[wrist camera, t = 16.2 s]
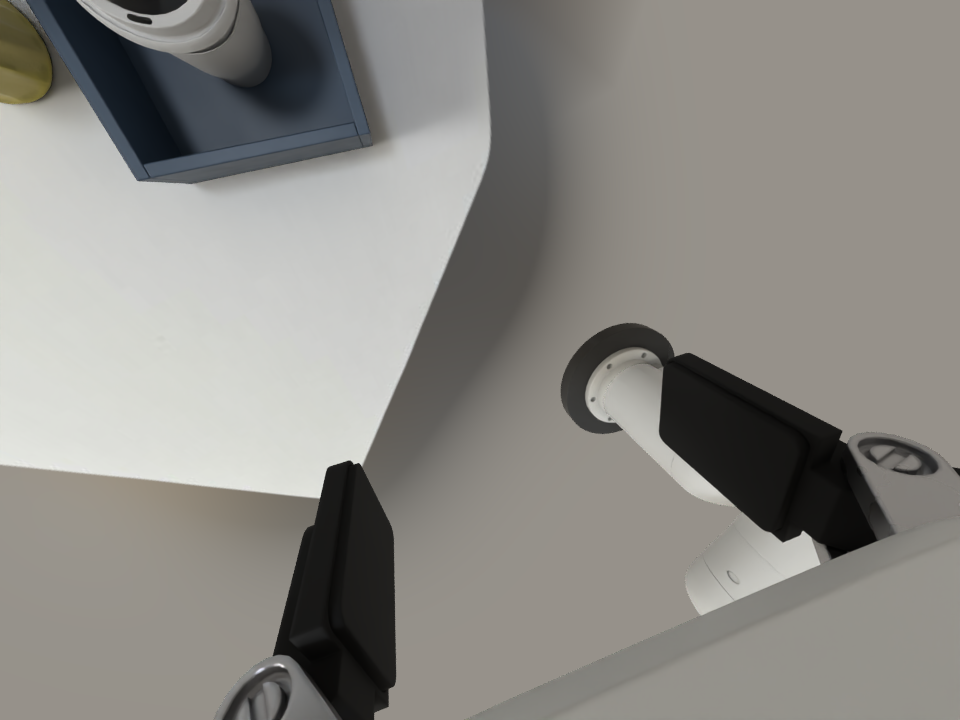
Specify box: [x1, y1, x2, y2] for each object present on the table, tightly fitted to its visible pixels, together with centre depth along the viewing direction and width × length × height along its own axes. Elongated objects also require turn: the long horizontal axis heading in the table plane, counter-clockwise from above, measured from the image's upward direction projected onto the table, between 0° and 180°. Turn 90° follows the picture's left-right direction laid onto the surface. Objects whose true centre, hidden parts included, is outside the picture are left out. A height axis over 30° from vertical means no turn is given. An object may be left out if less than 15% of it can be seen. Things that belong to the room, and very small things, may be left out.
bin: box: [26, 0, 372, 184], centre depth 21 cm, size 15×15×7 cm
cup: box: [76, 0, 272, 87], centre depth 18 cm, size 7×7×12 cm
